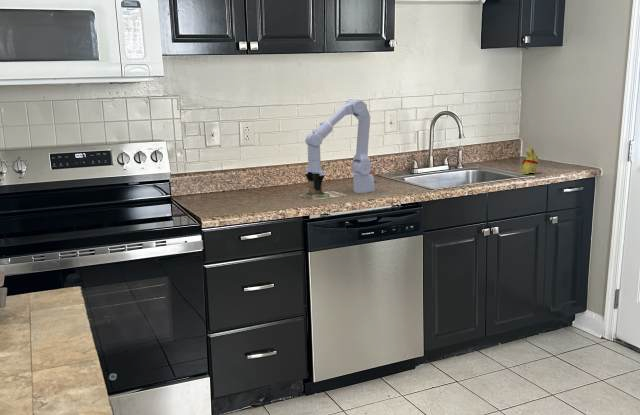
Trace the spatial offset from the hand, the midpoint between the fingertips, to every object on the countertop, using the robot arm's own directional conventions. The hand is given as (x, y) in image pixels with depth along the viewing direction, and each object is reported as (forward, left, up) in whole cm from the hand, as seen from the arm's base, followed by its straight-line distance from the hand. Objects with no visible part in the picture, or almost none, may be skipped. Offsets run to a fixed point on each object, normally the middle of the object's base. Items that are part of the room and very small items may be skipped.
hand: (315, 189), depth 291 cm
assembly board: (-4, 0, -4) cm, 6 cm away
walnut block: (0, 0, -2) cm, 2 cm away
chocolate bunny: (-125, +11, -4) cm, 126 cm away
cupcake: (-43, -22, -4) cm, 49 cm away
